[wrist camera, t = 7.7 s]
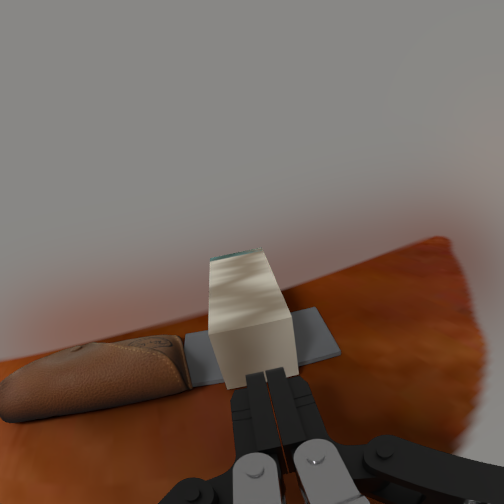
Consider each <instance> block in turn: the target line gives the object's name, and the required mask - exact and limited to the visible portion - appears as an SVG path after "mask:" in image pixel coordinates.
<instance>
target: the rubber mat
mask: <svg viewBox="0 0 504 504" xmlns="http://www.w3.org/2000/svg"><path fill="white" fill-rule="evenodd" d="M290 314H291V316H292V322H293V329H294V337H295V345H296V354H297V362H298V366H302V365H306V364H310V363H314V362H317V361H321V360H325V359H328V358H332V357H335V356H338V355H341V350H340V349H339V347H338V345H337V343H336V342H335V340H334V338H333V336H332V335H331V333H330V331H329V330H328V328H327V326H326V324H325V323H324V321H323V319H322V317H321V316H320V314H319V312H318V311H317V309H316V307H312V308H308V309H304V310H300V311H296V312H292V313H290ZM184 352H185V356H186V360H187V364H188V368H189V373H190V377H191V381H192V387H197V386H204V385H210V384H217V383H223V382H225V381H224V379H223V376H222V373H221V370H220V367H219V364H218V362H217V359H216V356H215V353H214V350H213V347H212V344H211V341H210V338H209V335H208V330H206V331H201V332H195V333H189V334H186V336H185V344H184Z"/></svg>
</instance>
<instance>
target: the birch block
mask: <svg viewBox="0 0 504 504" xmlns="http://www.w3.org/2000/svg"><path fill="white" fill-rule="evenodd" d="M208 335H209V338H210V341H211V344H212V347H213V350H214V353H215V356H216V359H217V362H218V364H219V367H220V370H221V373H222V376H223V379H224V381H225V384H226V387H227V389H233V388H239V387H244V386H247V384H246V377H245V375H247V374H252V373H257V372H262V371H263V372H264V376H265V380H266V382H267V377H266V373H265V371H266V370H270V369H274V368H279V367H283V368H284V371H285V374H286V377H290V376H294V375H298V374H299V371H298V362H297V354H296V345H295V337H294V329H293V322H292V316H291V314H290V311H289V309H288V307H287V304H286V302H285V300H284V298H283V295H282V293H281V291H280V288H279V286H278V284H277V281H276V279H275V277H274V275H273V272H272V270H271V268H270V266H269V263H268V261H267V259H266V256H265V254H264V252H263V250H262V248H257V249H252V250H248V251H243V252H238V253H233V254H229V255H224V256H219V257H214V258H211V259H210V277H209V322H208Z"/></svg>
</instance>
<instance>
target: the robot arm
mask: <svg viewBox="0 0 504 504" xmlns="http://www.w3.org/2000/svg"><path fill="white" fill-rule="evenodd" d="M265 373H266V377H267V382H268V386H269V390H270V395H271V399H272V403H273V407H274V412H275V416H276V420H277V424H278V428H279V432H280V436H281V440H282V444H283V448H284V452H285V456H286V460H287V464H288V468H289V472H290V473H292V472H295V473H296V477H297V481H298V484H299V489H300V492H301V495H302V497H303V500H304V502H305V504H370V502H369V501H368V499H367V498H366V497H365V496H368V497H370V498H372V499H375V500H377V501H380V502H382V503H385V504H504V467H501V466H497V465H492V464H487V463H483V462H478V461H474V460H470V459H466V458H463V457H459V456H455V455H452V454H448V453H445V452H441V451H438V450H435V449H431V448H428V447H425V446H422V445H419V444H416V443H413V442H410V441H407V440H404V439H402V438H399V437H396V436H393V435H381V436H377V437H375V438H374V439H372V440H371V441H370V442H369V443H368V444H365V445H342V444H339V443H336V442H335V441H333V440H332V439H331V438H330V437H329V436H328V434H327V431H326V429H325V426H324V424H323V421H322V418H321V416H320V413H319V411H318V408H317V406H316V404H315V400H314V398H313V396H312V393H311V390H310V387H309V385H308V383H307V382H306V381H305V380H303V379H302V378H301V377H300V376H296V377H292V378H288V379H287V377H286V374H285V371H284V368H283V367H279V368H274V369H270V370H266V371H265ZM245 377H246V384H247V388H243V389H238V390H235V391H234V393H233V396H232V398H231V401H230V402H231V412H232V421H233V432H234V441H235V450H236V459H235V462H234V464H233V466H232V467H231V468H230V469H229V470H228V471H227V472H225V473H224V474H222V475H220V476H217V477H215V478H212V479H210V480H207V481H205V480H203V479H200V478H187V479H184V480H182V481H180V482H178V483H177V484H176V485H175V486H174V487H173V488H172V490H171V491H170V492H169V493H168V494H167V495H166V496H165V497H164V498H163V499H162V500H161V501H160V502H159V503H158V504H287V503H286V495H285V492H286V488H285V483H284V479H283V475H284V474H288V472H287V468H286V464H285V460H284V456H283V451H282V447H281V443H280V439H279V435H278V431H277V427H276V422H275V418H274V414H273V410H272V406H271V401H270V397H269V393H268V389H267V385H266V380H265V376H264V372H263V371H262V372H257V373H252V374H247V375H245ZM360 493H361V494H363V495H361V494H360ZM364 495H365V496H364Z"/></svg>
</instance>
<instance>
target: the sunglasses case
mask: <svg viewBox="0 0 504 504" xmlns="http://www.w3.org/2000/svg"><path fill="white" fill-rule="evenodd" d="M192 389H193V388H192V381H191V377H190V373H189V368H188V364H187V360H186V356H185V352H184V347H183V342H182V340H181V338H180V337H179V336H176V335H155V336H147V337H141V338H135V339H129V340H124V341H119V342H115V343H96V342H92V343H89V344H85V345H82V346H75V347H72V348H69V349H65V350H62V351H59V352H57V353H55V354H52V355H49V356H47V357H44V358H40V359H38V360H35V361H34V362H31V363H29V364H28V365H26V366H24V367H22V368H20V369H18V370H17V371H15V372H14V373H13V374H10V375H9V376H8V377H6V378H5V379H4V380H3V381H2V382H0V417H1V419H2V420H3V421H5V422H8V423H16V422H24V421H29V420H35V419H43V418H47V417H51V416H55V415H58V416H61V415H67V414H76V413H83V412H88V411H93V410H97V409H104V408H112V407H117V406H122V405H127V404H131V403H136V402H140V401H145V400H150V399H155V398H159V397H163V396H167V395H172V394H177V393H180V392H182V391H185V390H192Z"/></svg>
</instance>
